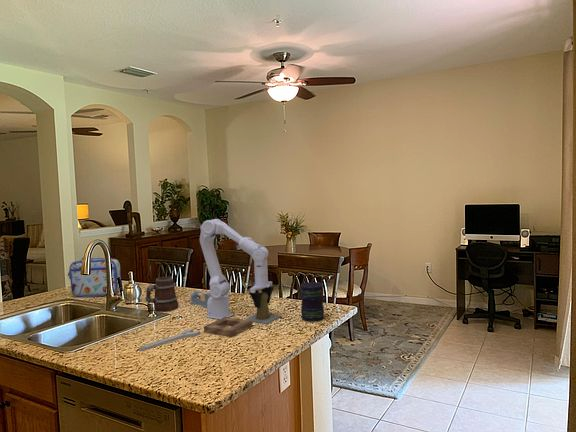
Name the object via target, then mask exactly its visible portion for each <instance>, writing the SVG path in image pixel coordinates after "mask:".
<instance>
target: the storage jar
mask: <svg viewBox="0 0 576 432" xmlns="http://www.w3.org/2000/svg"><path fill="white" fill-rule="evenodd" d="M300 298H301V307H300V309H301V311H300V312H301V320H302V321H304V322H307V323H309V322H310V323H317V322H321V321H324V319H325V316H324V315H325V314H324V313H325V310H324V308H325V307H324V284H323V283H322V282H316V281H309V282H304V283H301V284H300Z"/></svg>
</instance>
